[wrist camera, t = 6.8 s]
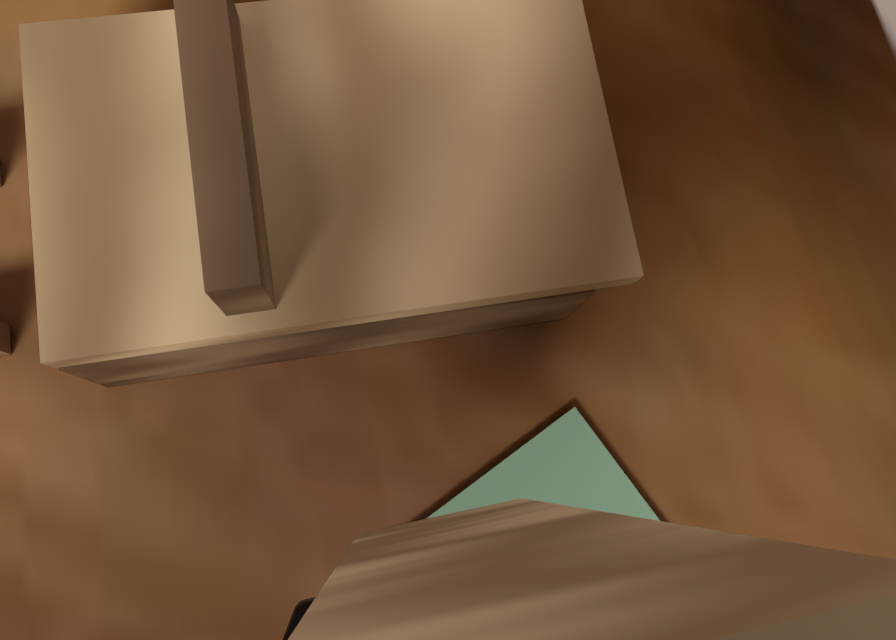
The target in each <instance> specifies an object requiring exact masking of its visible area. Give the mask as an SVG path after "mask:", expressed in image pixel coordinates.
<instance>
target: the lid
mask: <svg viewBox="0 0 896 640" xmlns="http://www.w3.org/2000/svg"><path fill="white" fill-rule="evenodd" d="M173 4H174V9H172V10H162V11H151V12H141V13H131V14H120V15H110V16H99V17H89V18H78V19H68V20H57V21H47V22H37V23H26V24H19V36H20V52H21V68H22V83H23V99H24V115H25V130H26V146H27V162H28V177H29V193H30V209H31V224H32V240H33V256H34V271H35V287H36V303H37V318H38V334H39V350H40V363H41V364H44V365H47V366H50V367H52V368H59V367H66V366H73V365H80V364H87V363H94V362H100V361H107V360H114V359H121V358H128V357H135V356H142V355H148V354H155V353H162V352H169V351H176V350H183V349H190V348H196V347H203V346H210V345H217V344H224V343H231V342H238V341H244V340H251V339H258V338H265V337H272V336H279V335H286V334H292V333H299V332H306V331H313V330H320V329H327V328H334V327H340V326H347V325H354V324H361V323H368V322H375V321H381V320H388V319H395V318H402V317H409V316H416V315H423V314H429V313H436V312H443V311H450V310H457V309H464V308H471V307H477V306H484V305H491V304H498V303H505V302H512V301H519V300H525V299H532V298H539V297H546V296H553V295H560V294H567V293H573V292H580V291H587V290H594V289H601V288H608V287H615V286H621V285H628V284H634V283H635V282H637V281H638V280H639V279H640V278H642V277H643V276H644V274H643V270H642V265H641V261H640V256H639V252H638V247H637V243H636V239H635V234H634V230H633V225H632V221H631V216H630V212H629V207H628V203H627V198H626V194H625V190H624V185H623V181H622V176H621V172H620V167H619V163H618V158H617V154H616V149H615V145H614V141H613V136H612V132H611V127H610V123H609V118H608V114H607V109H606V105H605V100H604V96H603V92H602V87H601V83H600V78H599V74H598V69H597V65H596V60H595V56H594V51H593V47H592V42H591V38H590V34H589V29H588V25H587V20H586V16H585V11H584V7H583V2H582V0H266V1H256V2H245V3H234V0H173Z"/></svg>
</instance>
